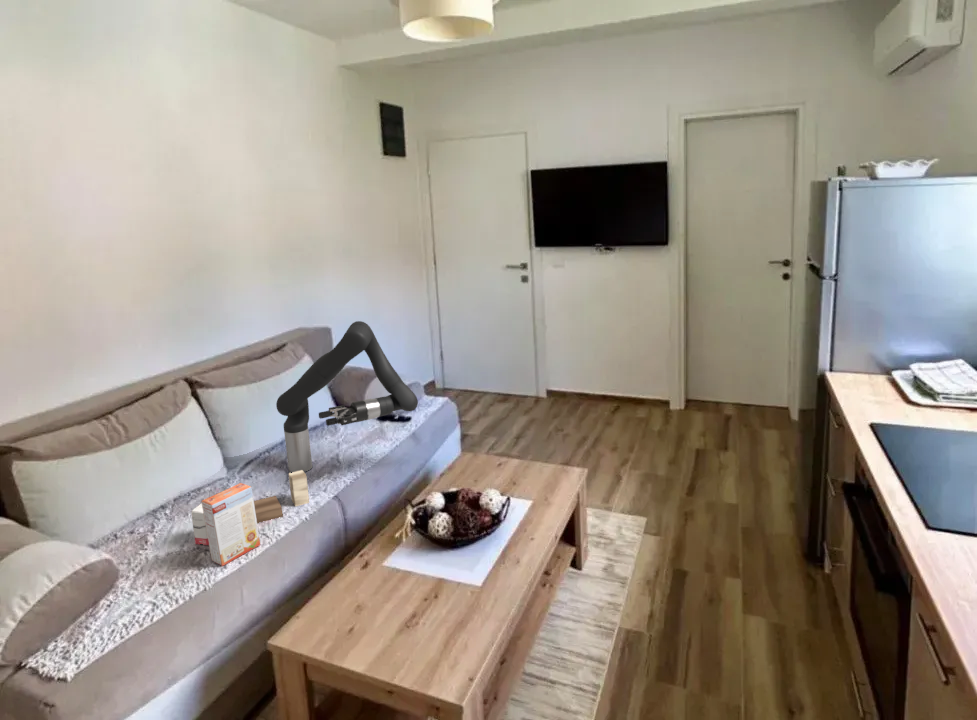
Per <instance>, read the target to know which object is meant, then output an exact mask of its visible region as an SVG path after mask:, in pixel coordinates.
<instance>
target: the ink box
mask: <svg viewBox="0 0 977 720" xmlns="http://www.w3.org/2000/svg"><path fill="white" fill-rule="evenodd" d="M190 512H191V513H190V514H191V521H192V529H193V536H194V544H195V545H200V544H203V545H202V546H209V541H208V536H207V530H206V525H205V519H204V513H203V508H202V502H201V503H200V504H199V505H197V506H196V507H194V508H193V509H192V510H191V511H190Z"/></svg>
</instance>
